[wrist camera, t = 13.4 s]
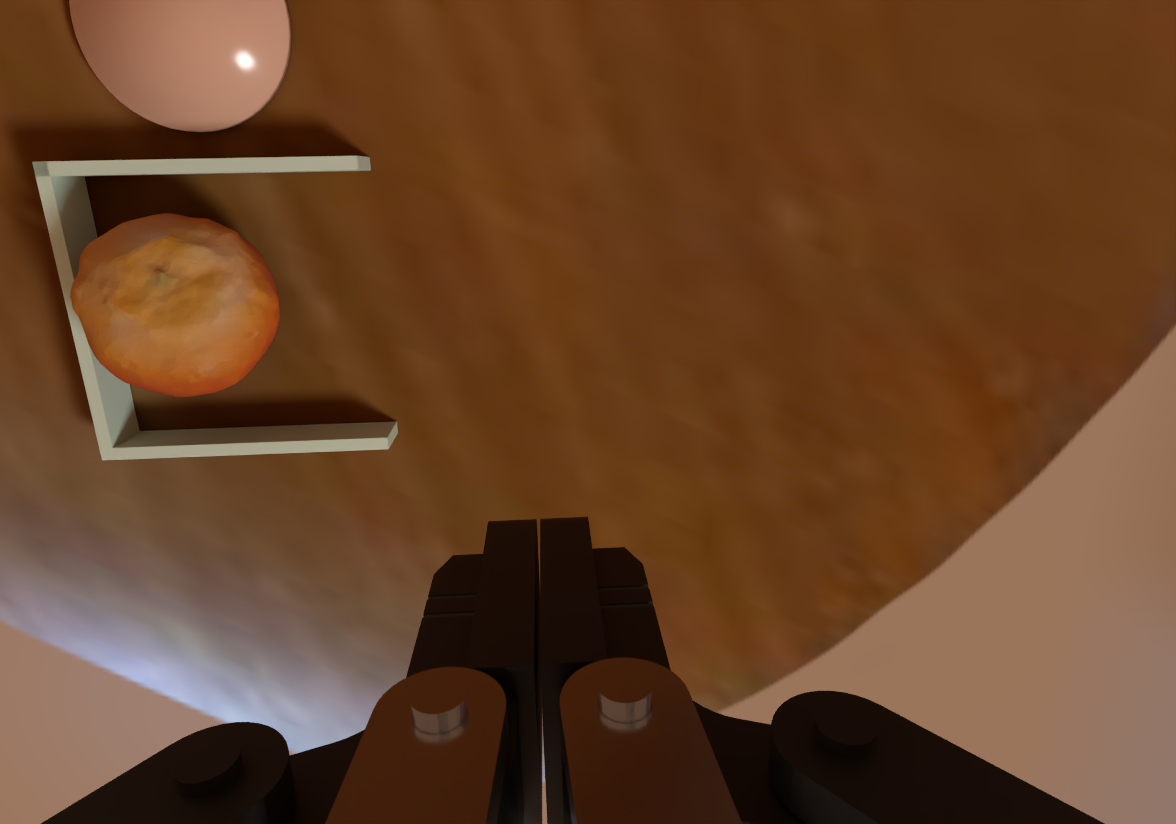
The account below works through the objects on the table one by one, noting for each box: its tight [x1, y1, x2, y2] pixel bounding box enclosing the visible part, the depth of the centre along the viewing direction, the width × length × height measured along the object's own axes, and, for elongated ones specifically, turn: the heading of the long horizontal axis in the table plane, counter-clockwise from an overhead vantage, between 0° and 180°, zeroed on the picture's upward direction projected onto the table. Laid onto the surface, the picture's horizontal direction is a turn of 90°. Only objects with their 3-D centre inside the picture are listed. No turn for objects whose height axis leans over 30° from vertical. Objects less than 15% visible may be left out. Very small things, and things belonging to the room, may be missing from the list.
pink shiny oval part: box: [69, 0, 292, 132], centre depth 32 cm, size 9×9×1 cm
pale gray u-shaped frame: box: [32, 156, 398, 460], centre depth 35 cm, size 14×14×2 cm
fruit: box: [70, 213, 280, 397], centre depth 33 cm, size 8×8×8 cm
